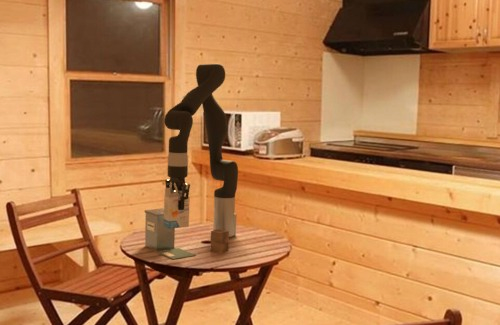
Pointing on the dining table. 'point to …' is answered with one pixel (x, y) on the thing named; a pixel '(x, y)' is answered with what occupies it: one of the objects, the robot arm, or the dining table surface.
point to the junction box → (158, 231)
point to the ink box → (175, 211)
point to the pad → (175, 253)
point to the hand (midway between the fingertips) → (176, 208)
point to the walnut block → (219, 241)
